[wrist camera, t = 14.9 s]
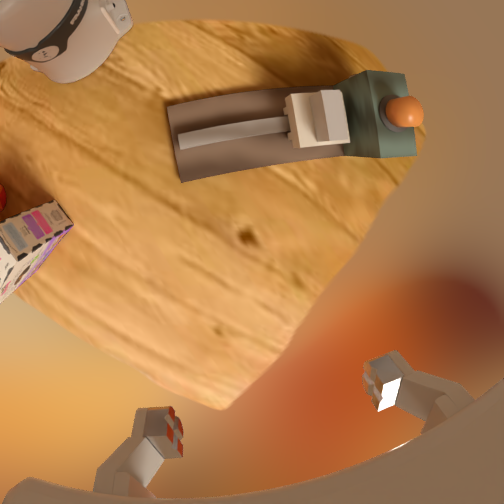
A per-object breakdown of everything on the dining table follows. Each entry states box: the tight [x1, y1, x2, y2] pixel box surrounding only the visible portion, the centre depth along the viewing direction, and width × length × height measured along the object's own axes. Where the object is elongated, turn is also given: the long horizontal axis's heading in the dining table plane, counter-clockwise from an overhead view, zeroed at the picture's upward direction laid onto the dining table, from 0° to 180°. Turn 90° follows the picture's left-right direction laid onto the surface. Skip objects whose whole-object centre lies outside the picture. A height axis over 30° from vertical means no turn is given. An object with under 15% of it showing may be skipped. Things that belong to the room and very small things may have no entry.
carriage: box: [283, 90, 350, 148], centre depth 32 cm, size 7×7×9 cm
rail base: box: [167, 70, 417, 183], centre depth 32 cm, size 12×30×12 cm, turn 100°
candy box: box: [0, 200, 74, 304], centre depth 30 cm, size 14×6×16 cm, turn 126°
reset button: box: [386, 96, 424, 127], centre depth 26 cm, size 4×4×3 cm
